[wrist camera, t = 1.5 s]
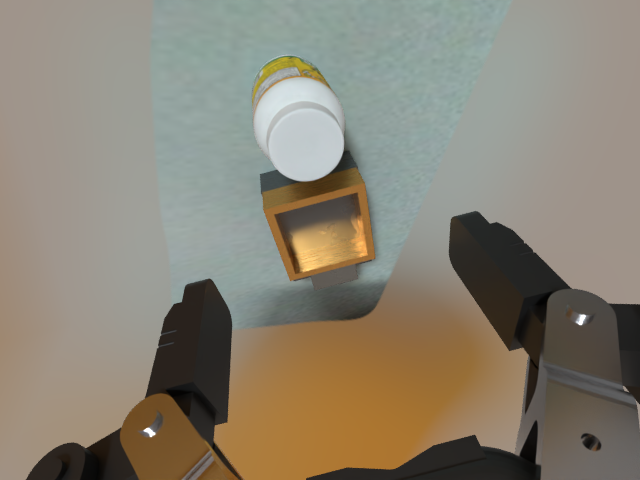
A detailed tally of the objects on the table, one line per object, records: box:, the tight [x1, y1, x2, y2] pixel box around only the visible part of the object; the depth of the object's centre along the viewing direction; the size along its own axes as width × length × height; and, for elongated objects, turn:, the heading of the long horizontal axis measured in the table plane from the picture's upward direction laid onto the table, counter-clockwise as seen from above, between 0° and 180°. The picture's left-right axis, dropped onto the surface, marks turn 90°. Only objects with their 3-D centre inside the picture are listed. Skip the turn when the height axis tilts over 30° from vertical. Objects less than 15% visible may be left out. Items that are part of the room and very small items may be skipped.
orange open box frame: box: [260, 151, 375, 290], centre depth 30 cm, size 10×8×6 cm
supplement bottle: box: [252, 55, 345, 181], centre depth 22 cm, size 5×5×10 cm
